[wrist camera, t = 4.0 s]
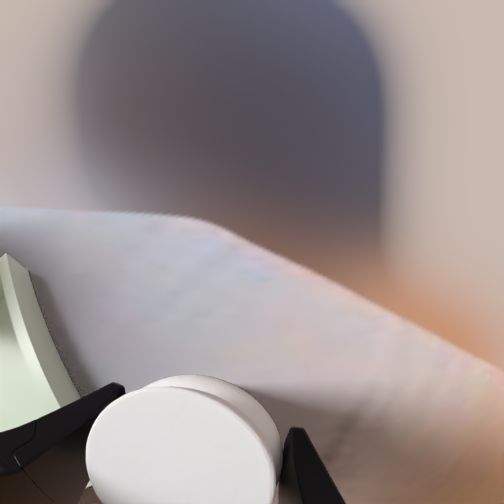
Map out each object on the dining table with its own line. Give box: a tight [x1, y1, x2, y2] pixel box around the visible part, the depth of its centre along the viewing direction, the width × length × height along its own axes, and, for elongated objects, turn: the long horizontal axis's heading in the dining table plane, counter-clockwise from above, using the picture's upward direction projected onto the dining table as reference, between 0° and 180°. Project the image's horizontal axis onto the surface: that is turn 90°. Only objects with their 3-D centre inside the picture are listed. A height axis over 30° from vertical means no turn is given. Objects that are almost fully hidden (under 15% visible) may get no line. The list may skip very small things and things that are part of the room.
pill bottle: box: [86, 375, 283, 504], centre depth 9 cm, size 6×6×10 cm
